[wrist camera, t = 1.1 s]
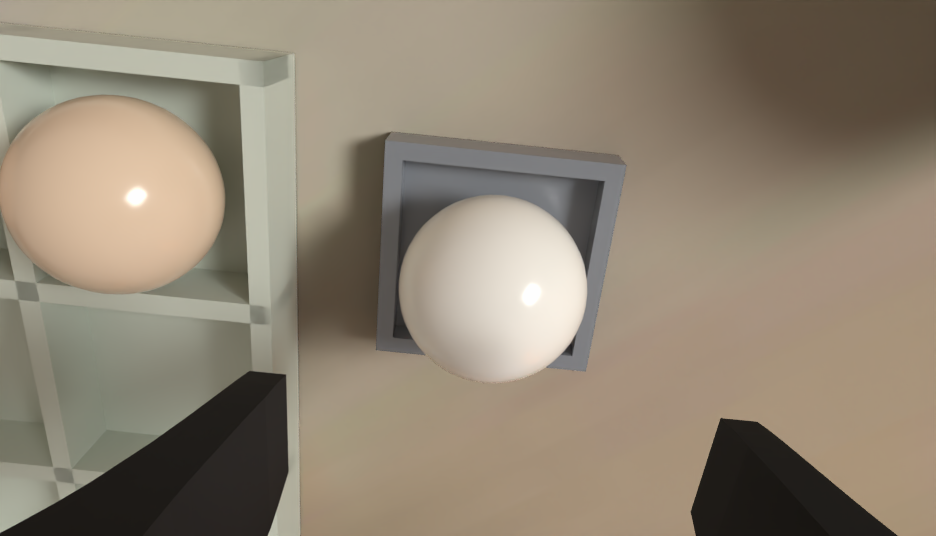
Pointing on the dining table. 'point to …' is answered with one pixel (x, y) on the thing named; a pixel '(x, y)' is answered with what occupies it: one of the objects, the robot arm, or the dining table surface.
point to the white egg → (493, 288)
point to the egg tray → (162, 309)
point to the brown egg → (111, 194)
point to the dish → (494, 173)
